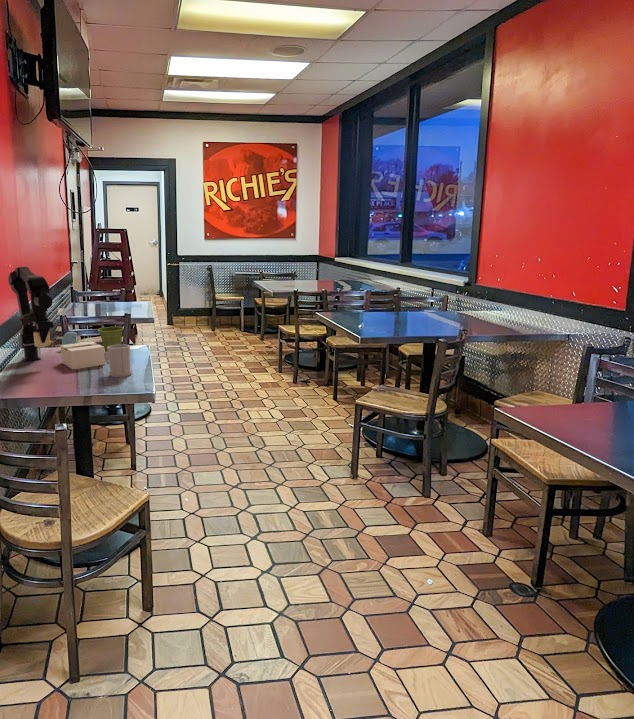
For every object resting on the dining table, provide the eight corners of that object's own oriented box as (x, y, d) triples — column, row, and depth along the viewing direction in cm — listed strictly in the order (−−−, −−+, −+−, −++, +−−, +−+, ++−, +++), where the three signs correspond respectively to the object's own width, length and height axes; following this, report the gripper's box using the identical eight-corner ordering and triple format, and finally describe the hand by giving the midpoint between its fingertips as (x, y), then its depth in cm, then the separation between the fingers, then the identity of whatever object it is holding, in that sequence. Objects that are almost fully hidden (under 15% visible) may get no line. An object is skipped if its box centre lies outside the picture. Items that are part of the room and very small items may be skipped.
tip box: (62, 362, 285) (60, 345, 284) (93, 358, 293) (92, 341, 292) (72, 369, 273) (71, 351, 271) (105, 364, 281) (103, 346, 279)
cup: (104, 378, 257) (102, 349, 254) (105, 373, 265) (103, 345, 263) (131, 376, 260) (129, 347, 257) (132, 371, 268) (129, 343, 266)
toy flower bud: (88, 332, 313) (62, 333, 308) (88, 350, 315) (62, 351, 309) (87, 330, 319) (61, 330, 314) (87, 347, 321) (61, 348, 316)
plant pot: (102, 349, 313) (100, 327, 310) (127, 348, 314) (125, 326, 311) (97, 354, 301) (95, 331, 299) (123, 354, 302) (121, 330, 300)
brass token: (34, 345, 275) (33, 332, 274) (49, 344, 279) (48, 330, 277) (36, 346, 274) (34, 332, 272) (50, 344, 277) (49, 331, 276)
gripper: (13, 306, 275) (17, 341, 279) (23, 310, 260) (27, 348, 264) (40, 303, 282) (44, 338, 285) (52, 308, 267) (55, 344, 270)
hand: (42, 342), depth 276 cm, fingers closed on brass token, 2 cm apart
